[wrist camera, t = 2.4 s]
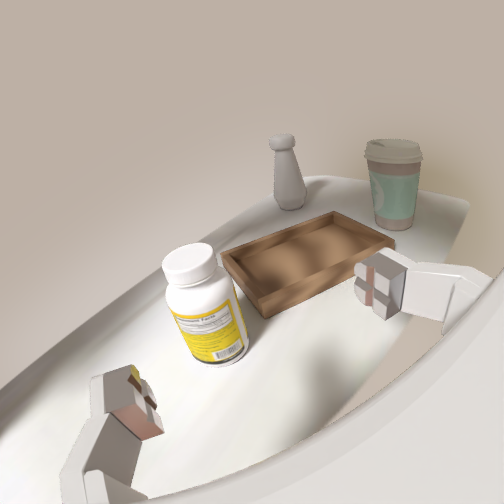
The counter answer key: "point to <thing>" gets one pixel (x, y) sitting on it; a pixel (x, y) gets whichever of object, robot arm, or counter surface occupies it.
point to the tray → (301, 260)
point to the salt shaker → (287, 173)
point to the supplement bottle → (205, 305)
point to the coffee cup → (394, 180)
